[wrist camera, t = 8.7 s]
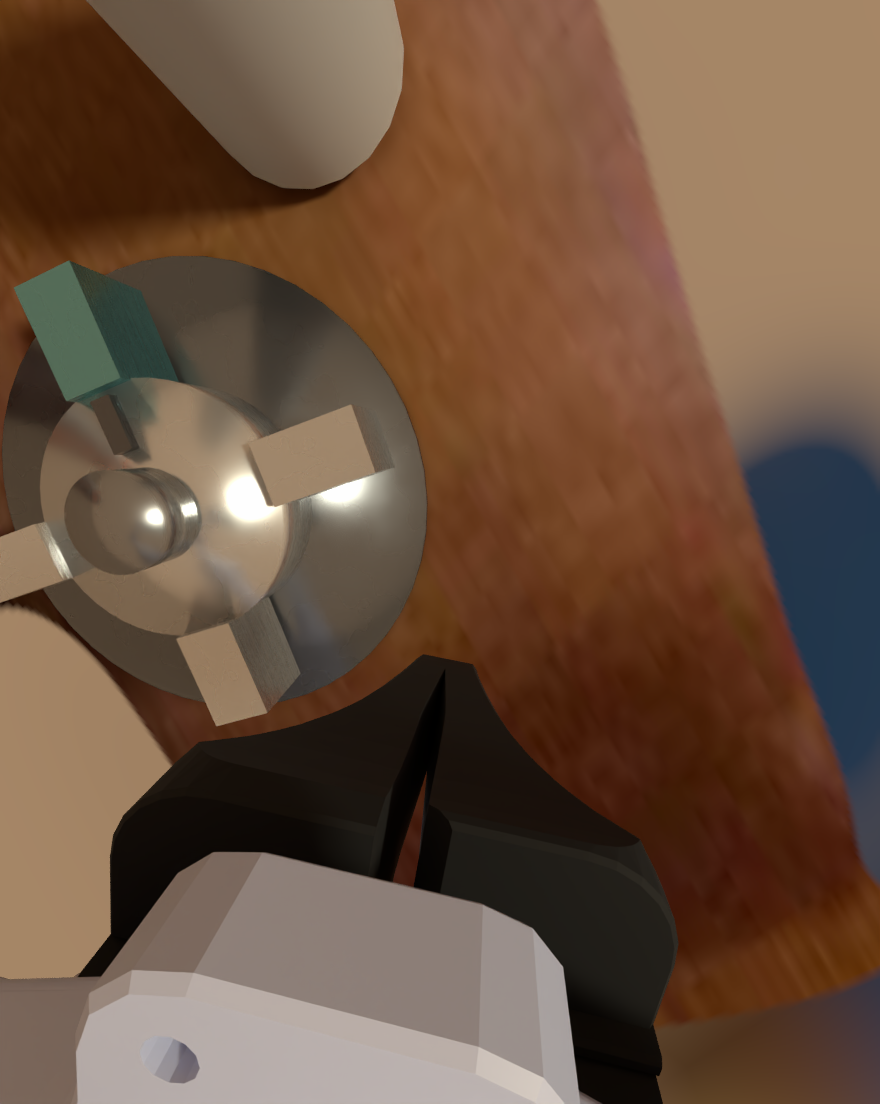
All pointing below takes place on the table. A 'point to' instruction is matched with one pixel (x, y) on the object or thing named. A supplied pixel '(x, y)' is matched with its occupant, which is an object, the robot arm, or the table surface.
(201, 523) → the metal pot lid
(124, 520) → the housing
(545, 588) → the table surface
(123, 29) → the can
